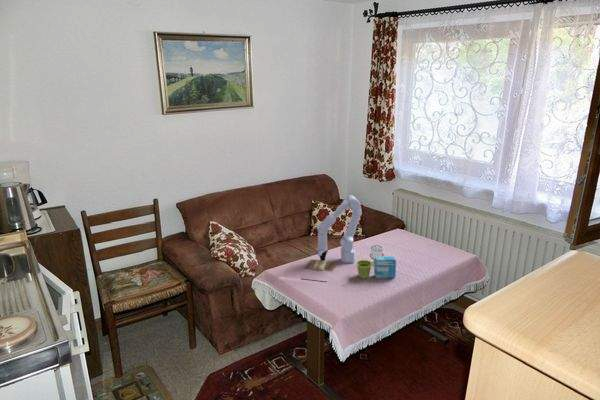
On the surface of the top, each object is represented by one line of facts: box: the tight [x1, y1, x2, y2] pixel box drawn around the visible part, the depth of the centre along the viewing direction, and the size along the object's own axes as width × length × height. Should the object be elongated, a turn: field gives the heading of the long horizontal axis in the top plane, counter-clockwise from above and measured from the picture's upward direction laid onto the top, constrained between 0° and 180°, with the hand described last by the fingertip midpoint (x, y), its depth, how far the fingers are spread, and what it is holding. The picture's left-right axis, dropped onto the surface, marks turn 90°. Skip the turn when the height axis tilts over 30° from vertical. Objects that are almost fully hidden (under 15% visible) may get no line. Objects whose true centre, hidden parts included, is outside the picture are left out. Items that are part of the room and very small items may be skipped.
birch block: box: [313, 259, 328, 271], centre depth 260 cm, size 6×10×2 cm, turn 162°
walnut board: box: [304, 259, 338, 272], centre depth 263 cm, size 18×13×2 cm
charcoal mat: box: [301, 278, 328, 283], centre depth 251 cm, size 16×12×1 cm
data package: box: [373, 256, 397, 279], centre depth 247 cm, size 12×4×12 cm, turn 89°
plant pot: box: [355, 259, 373, 279], centre depth 248 cm, size 9×9×9 cm
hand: (322, 261), depth 266 cm, fingers closed
